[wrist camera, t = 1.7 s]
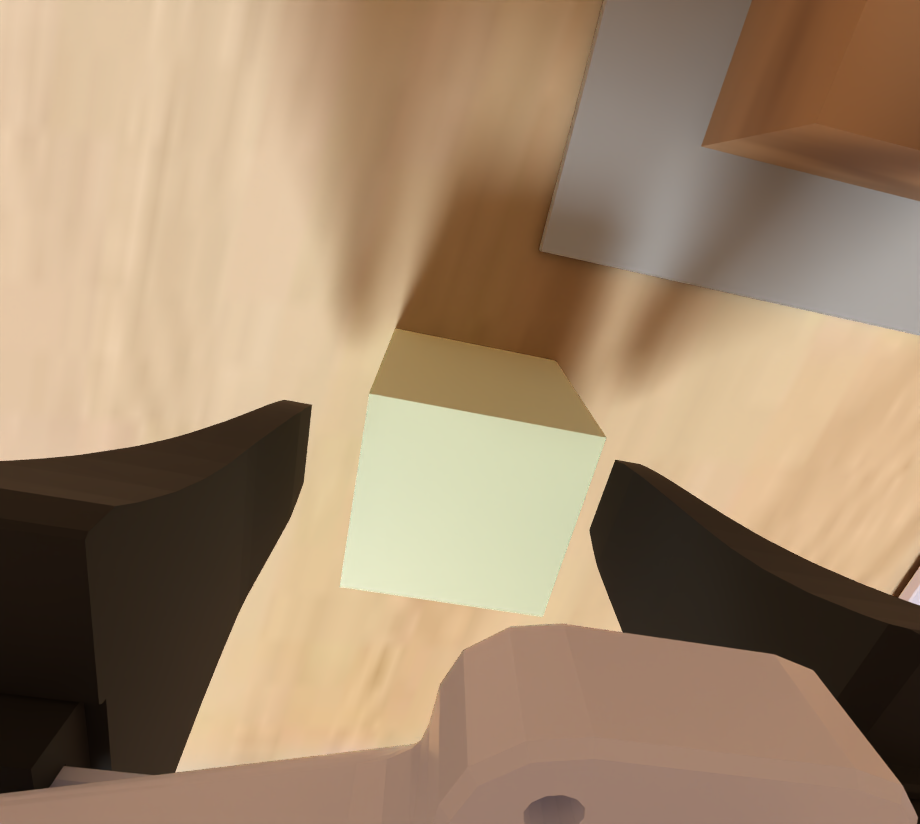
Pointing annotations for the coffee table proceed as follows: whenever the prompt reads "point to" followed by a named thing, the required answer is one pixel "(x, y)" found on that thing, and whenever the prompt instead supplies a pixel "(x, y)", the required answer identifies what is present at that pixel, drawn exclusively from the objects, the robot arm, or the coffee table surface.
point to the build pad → (715, 182)
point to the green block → (468, 476)
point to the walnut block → (827, 91)
